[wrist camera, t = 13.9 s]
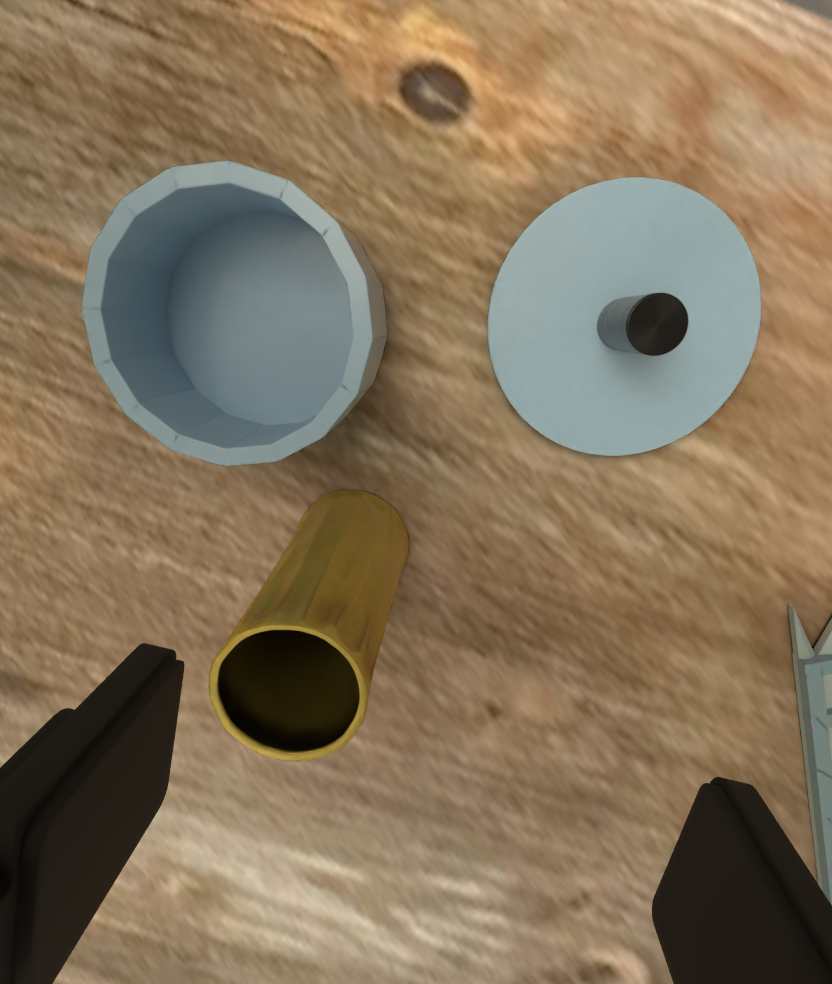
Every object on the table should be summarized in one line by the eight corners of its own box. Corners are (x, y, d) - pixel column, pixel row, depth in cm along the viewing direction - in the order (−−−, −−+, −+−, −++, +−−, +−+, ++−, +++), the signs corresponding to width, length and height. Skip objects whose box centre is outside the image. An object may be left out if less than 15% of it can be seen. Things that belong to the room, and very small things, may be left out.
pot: (111, 272, 30) (25, 259, 24) (311, 147, 29) (274, 99, 22) (235, 475, 33) (186, 510, 27) (427, 372, 31) (422, 385, 25)
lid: (441, 267, 30) (440, 254, 24) (692, 127, 28) (758, 73, 22) (551, 492, 32) (574, 530, 26) (788, 379, 30) (870, 393, 24)
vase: (282, 505, 33) (165, 634, 19) (390, 475, 32) (348, 587, 19) (318, 605, 35) (233, 791, 21) (422, 578, 34) (405, 753, 20)
